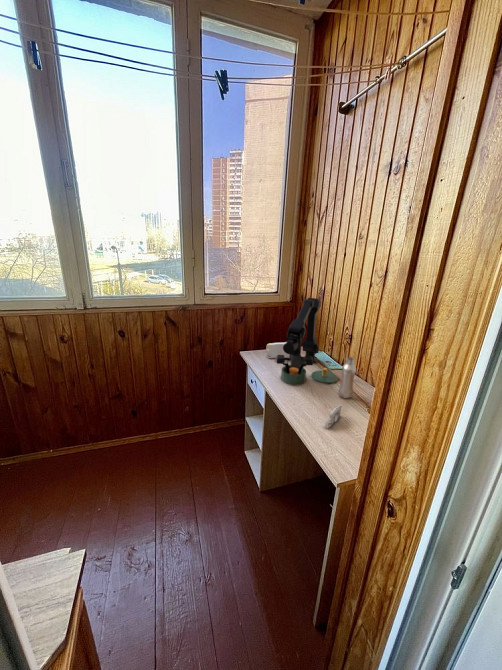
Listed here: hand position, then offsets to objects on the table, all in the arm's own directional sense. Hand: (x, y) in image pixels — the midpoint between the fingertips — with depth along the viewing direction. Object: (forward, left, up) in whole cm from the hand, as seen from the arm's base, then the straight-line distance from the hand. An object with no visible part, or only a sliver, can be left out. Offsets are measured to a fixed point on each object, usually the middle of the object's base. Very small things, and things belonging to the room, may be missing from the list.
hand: (293, 374), depth 156 cm
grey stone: (+36, +14, -3) cm, 39 cm away
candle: (0, 0, -1) cm, 1 cm away
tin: (0, 0, -3) cm, 3 cm away
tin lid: (-3, +17, -2) cm, 17 cm away
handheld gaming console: (-26, -7, -3) cm, 27 cm away
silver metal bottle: (+15, +24, -3) cm, 28 cm away
